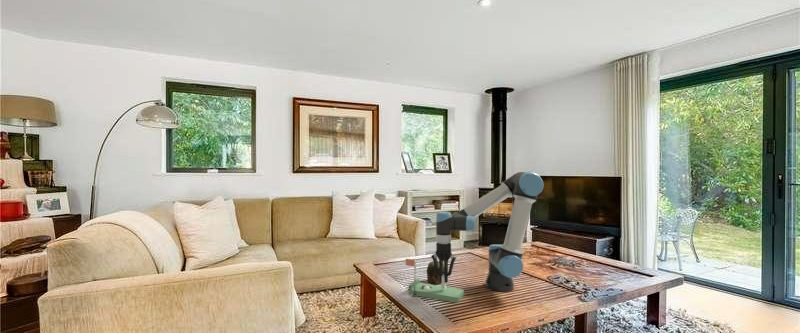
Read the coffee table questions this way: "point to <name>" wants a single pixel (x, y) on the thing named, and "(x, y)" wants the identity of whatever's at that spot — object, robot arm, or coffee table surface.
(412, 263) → the flag pin
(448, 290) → the mat
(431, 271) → the ribbed round cactus
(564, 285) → the coffee table surface
